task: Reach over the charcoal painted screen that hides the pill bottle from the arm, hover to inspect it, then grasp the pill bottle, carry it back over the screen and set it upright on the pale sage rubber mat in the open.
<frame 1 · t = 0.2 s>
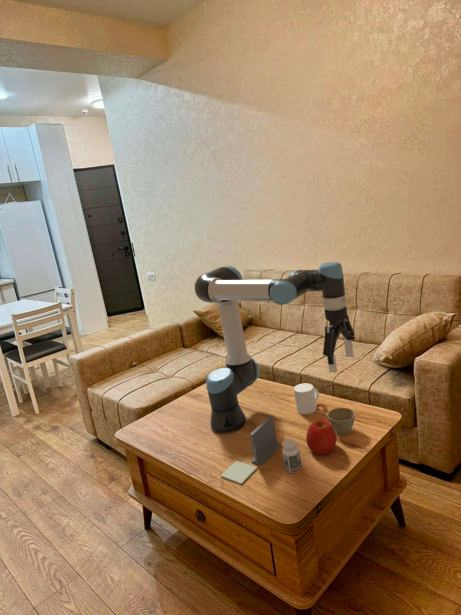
hand: (341, 364, 148), 28 cm above the table, fingers open, 13 cm apart
screen: (266, 453, 152), on the table
pill bottle: (293, 468, 141), on the table
mug: (309, 408, 178), on the table
apple: (322, 449, 149), on the table
flower pot: (343, 431, 157), on the table
mat: (239, 472, 144), on the table
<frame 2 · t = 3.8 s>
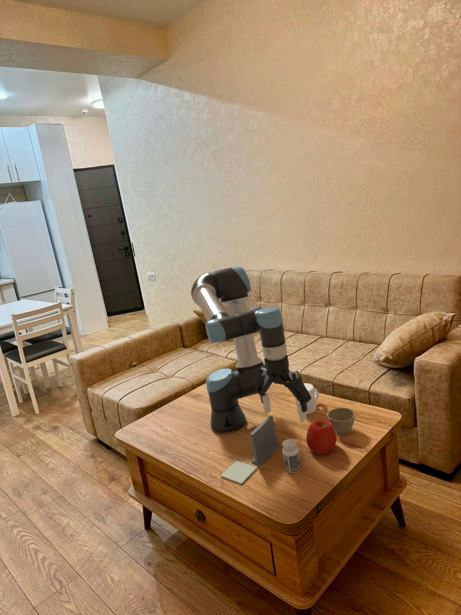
hand: (285, 416, 136), 20 cm above the table, fingers open, 13 cm apart
nothing on the table moved.
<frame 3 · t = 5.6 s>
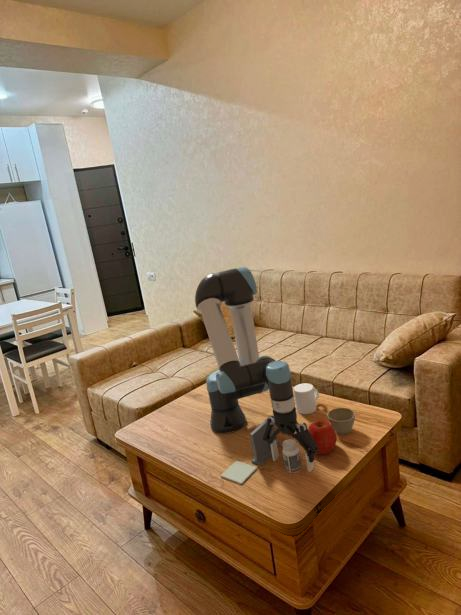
hand: (292, 464, 141), 2 cm above the table, fingers open, 13 cm apart
nothing on the table moved.
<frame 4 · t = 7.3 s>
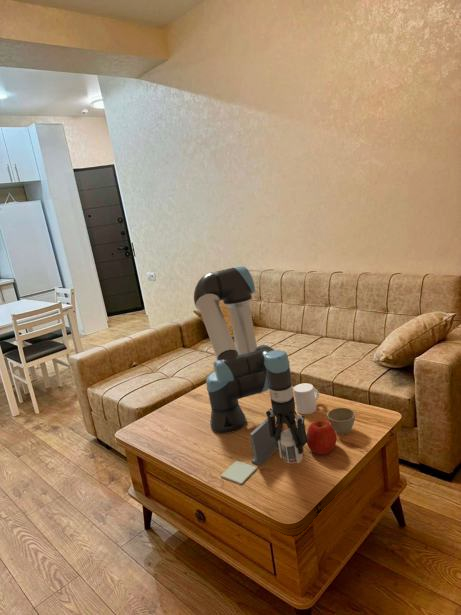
hand: (291, 457, 141), 4 cm above the table, fingers closed on pill bottle, 6 cm apart
pill bottle: (291, 459, 141), point 3 cm above the table, touching gripper
everything else where it was.
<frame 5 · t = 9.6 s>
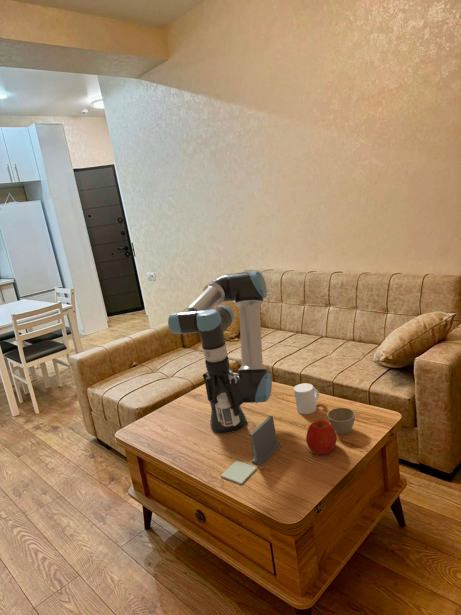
hand: (229, 421, 139), 20 cm above the table, fingers closed on pill bottle, 6 cm apart
pill bottle: (229, 423, 139), point 20 cm above the table, touching gripper
everything else where it was.
when the fingers open (2 cm above the table, at t = 12.3 s): pill bottle stays where it is, resting on mat.
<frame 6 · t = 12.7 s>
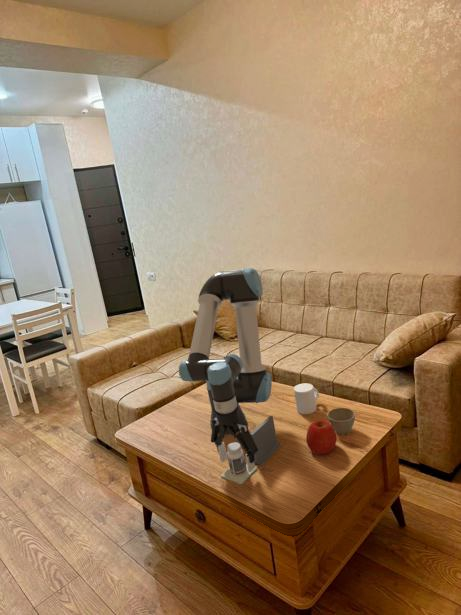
hand: (237, 464, 143), 3 cm above the table, fingers open, 11 cm apart
pill bottle: (238, 471, 144), resting on mat
everything else where it was.
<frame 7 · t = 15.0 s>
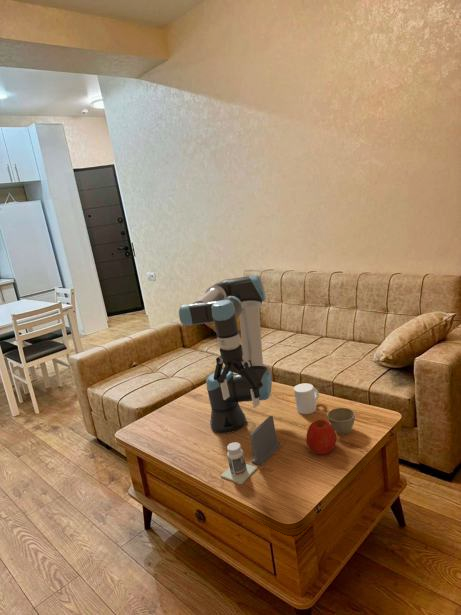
hand: (241, 401, 146), 23 cm above the table, fingers open, 13 cm apart
nothing on the table moved.
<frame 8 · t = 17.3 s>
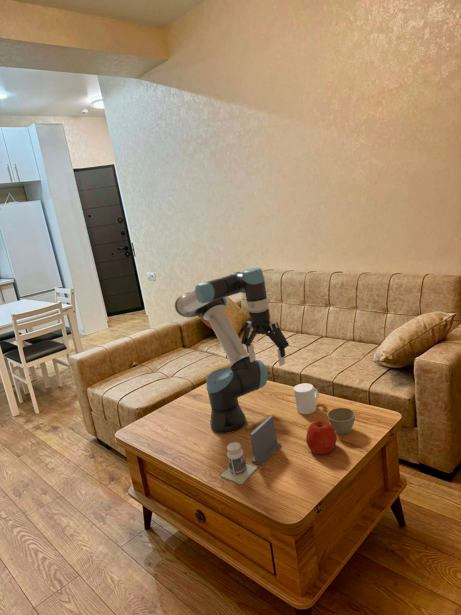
hand: (267, 362, 159), 29 cm above the table, fingers open, 13 cm apart
nothing on the table moved.
at the end: pill bottle inside the target area on the mat (0.1 cm from its centre), point 0.4 cm above the mat's base; pill bottle tilted 0°; the gripper is holding nothing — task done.
